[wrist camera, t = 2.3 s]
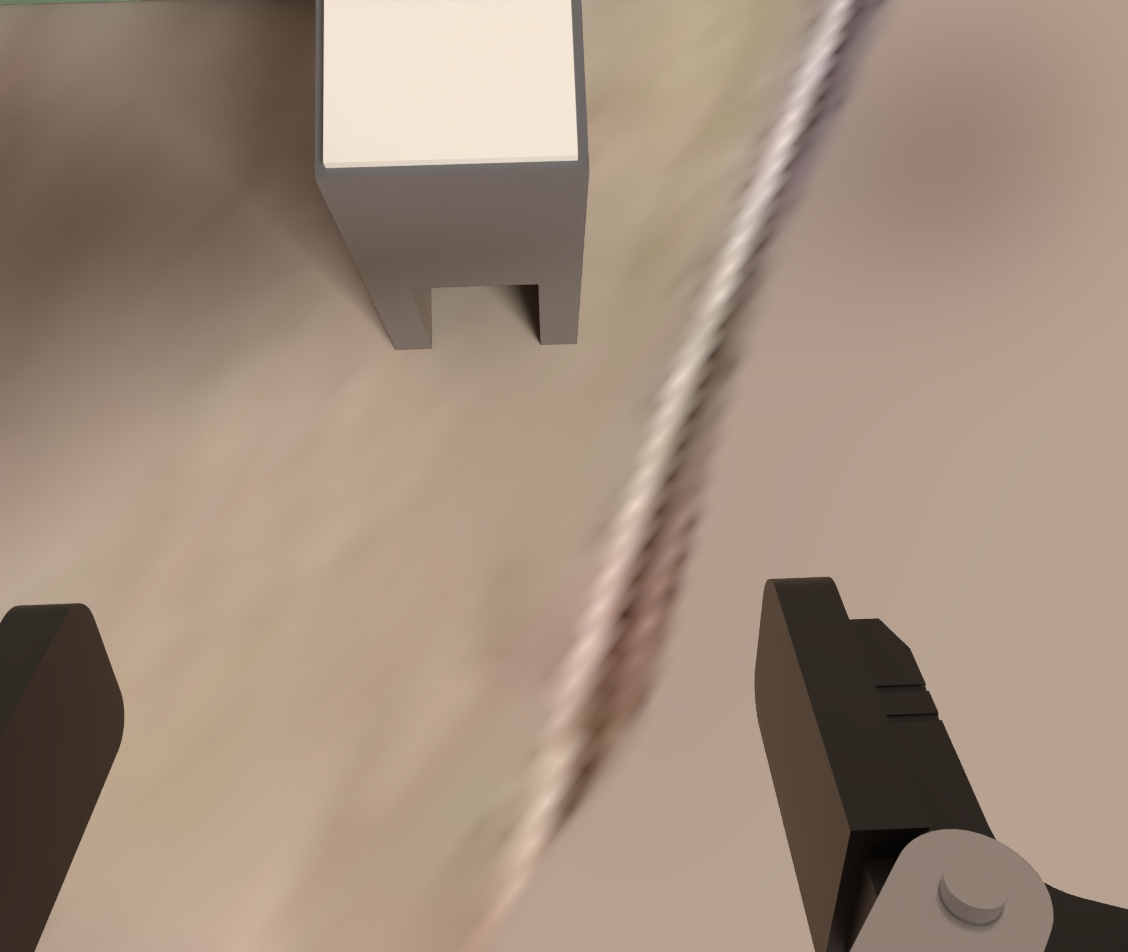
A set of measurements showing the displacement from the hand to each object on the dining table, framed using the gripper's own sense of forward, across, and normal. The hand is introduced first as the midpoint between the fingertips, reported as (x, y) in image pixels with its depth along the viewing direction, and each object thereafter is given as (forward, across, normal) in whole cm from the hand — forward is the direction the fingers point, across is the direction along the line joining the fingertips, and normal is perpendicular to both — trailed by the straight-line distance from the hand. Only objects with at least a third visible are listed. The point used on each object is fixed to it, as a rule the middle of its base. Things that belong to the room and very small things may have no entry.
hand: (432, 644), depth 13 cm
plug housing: (+19, 0, +2) cm, 19 cm away
